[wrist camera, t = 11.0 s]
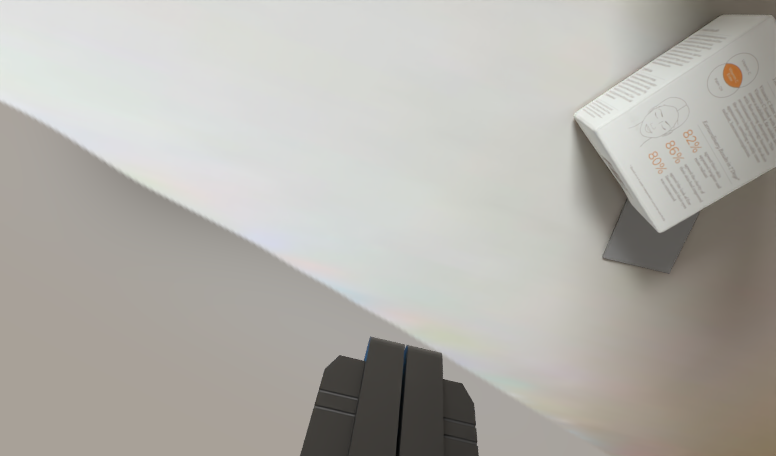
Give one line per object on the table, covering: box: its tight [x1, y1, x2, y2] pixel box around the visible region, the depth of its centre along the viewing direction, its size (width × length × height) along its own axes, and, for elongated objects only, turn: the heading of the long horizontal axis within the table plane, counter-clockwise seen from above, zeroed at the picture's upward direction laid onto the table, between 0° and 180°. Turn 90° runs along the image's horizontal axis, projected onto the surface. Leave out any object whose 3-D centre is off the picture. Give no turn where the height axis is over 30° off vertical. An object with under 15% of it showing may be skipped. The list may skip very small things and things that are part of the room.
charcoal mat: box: [603, 198, 700, 273], centre depth 39 cm, size 11×5×1 cm, turn 166°
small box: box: [574, 14, 776, 233], centre depth 35 cm, size 8×6×10 cm
